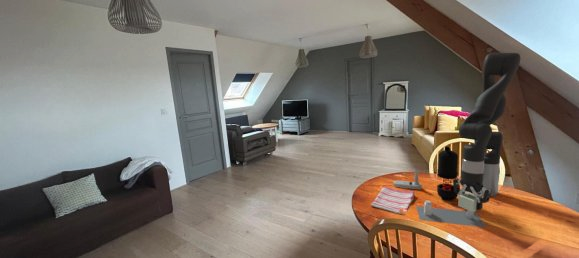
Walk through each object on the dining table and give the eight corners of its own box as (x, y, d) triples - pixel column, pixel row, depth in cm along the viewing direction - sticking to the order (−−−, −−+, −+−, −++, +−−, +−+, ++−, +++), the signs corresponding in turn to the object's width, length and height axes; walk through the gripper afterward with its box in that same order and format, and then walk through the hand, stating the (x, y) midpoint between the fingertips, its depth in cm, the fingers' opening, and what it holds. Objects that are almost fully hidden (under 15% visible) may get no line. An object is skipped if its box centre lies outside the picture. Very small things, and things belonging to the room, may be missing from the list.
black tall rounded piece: (456, 208, 113) (459, 148, 108) (434, 203, 119) (436, 146, 114) (459, 197, 123) (462, 141, 118) (439, 192, 129) (441, 139, 124)
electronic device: (393, 169, 144) (421, 171, 136) (394, 184, 146) (421, 186, 138) (392, 172, 139) (421, 174, 132) (393, 187, 141) (421, 190, 133)
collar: (458, 206, 103) (458, 195, 102) (466, 202, 105) (467, 192, 105) (473, 212, 98) (474, 201, 97) (481, 208, 100) (482, 197, 99)
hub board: (419, 222, 104) (420, 206, 103) (416, 209, 115) (416, 194, 114) (486, 230, 95) (487, 213, 94) (475, 215, 106) (476, 199, 105)
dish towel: (415, 196, 128) (415, 190, 128) (406, 216, 110) (406, 210, 110) (383, 190, 139) (383, 184, 138) (370, 208, 120) (370, 201, 120)
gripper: (449, 166, 103) (447, 201, 107) (487, 177, 90) (483, 216, 94) (459, 163, 106) (457, 197, 109) (498, 172, 93) (494, 211, 96)
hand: (469, 206), depth 101 cm, fingers closed on collar, 6 cm apart
